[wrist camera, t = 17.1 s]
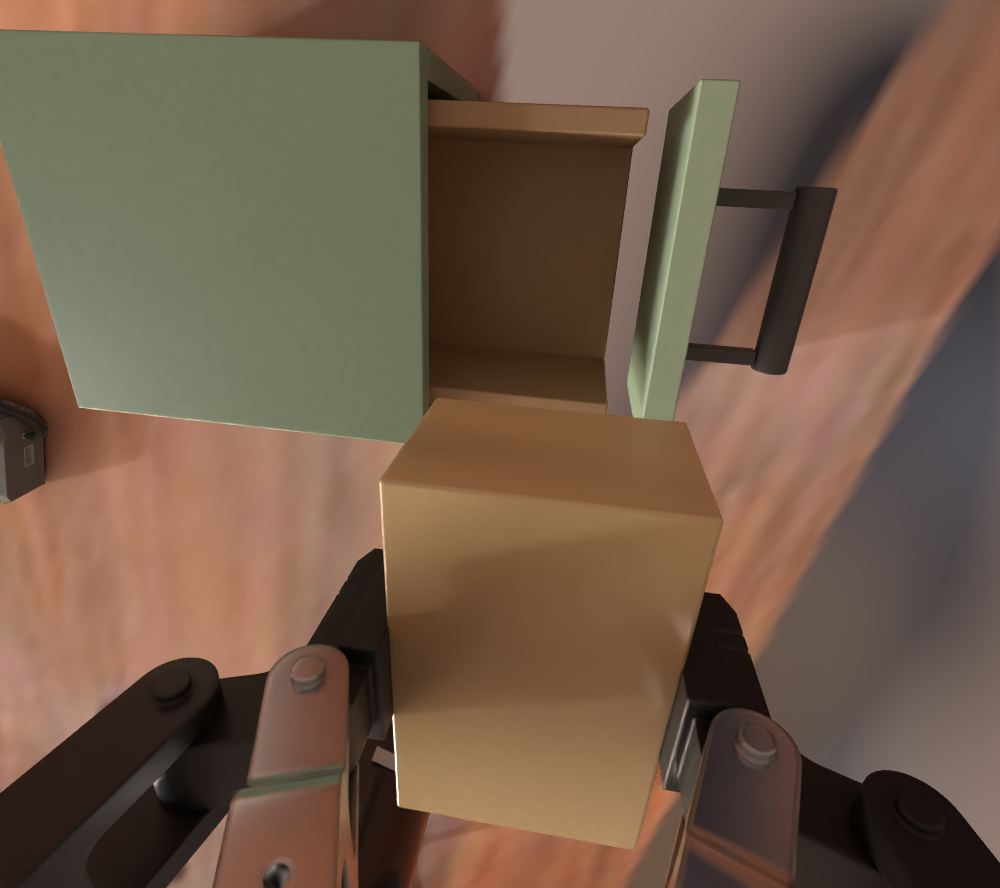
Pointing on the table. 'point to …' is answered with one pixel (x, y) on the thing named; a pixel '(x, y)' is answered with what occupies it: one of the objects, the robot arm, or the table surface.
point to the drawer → (588, 250)
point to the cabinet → (231, 221)
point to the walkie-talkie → (20, 450)
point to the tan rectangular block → (541, 611)
